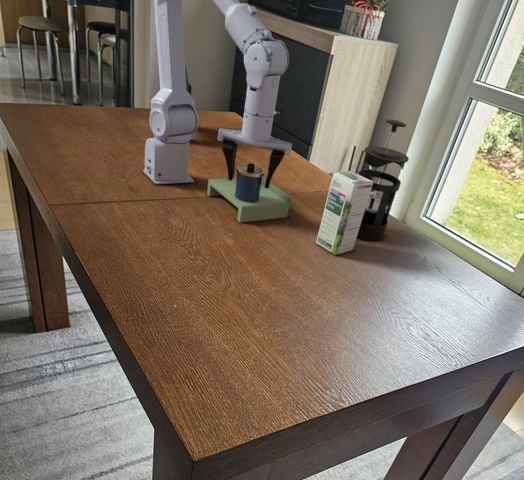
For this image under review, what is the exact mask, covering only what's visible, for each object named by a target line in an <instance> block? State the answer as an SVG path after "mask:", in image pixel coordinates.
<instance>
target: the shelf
mask: <svg viewBox="0 0 524 480" xmlns="http://www.w3.org/2000/svg"><path fill="white" fill-rule="evenodd" d="M266 179H267V178H266V177H264V176H263V177H262V183H261V189H260V196H259V200H258V201H257V202H244V201H240V200H238V199H237V198H235V188H236V180H237V177H234V178H233V179H232V181H230V180H228V177H220V178H219V177H218V178H208V181H207V191H206V194H207V195H208V196H209V197H216V196H217V197H218V196H223V197H224V198H225V199H226V200H227V201H229V202H230V203H231V204H232V205H234V206H235V207H236V208H237V210H238V211H237V217H236V221H237V222H239V223H247V222H249V223H250V222H256V221H267V220H277V219H285V218H288V214H289V210H290V209H289V208H290V204H291V199H292V196H290V195H289V194H288V193H286V192H285V191H284V190H282V189H281V188H279V187H278V186H276V185H275V184H274V183H272V181H270V185H269V188H268V189H267V188H265V183H266Z"/></svg>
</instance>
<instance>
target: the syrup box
mask: <svg viewBox="0 0 524 480" xmlns="http://www.w3.org/2000/svg"><path fill="white" fill-rule="evenodd" d="M373 183H374V180H372V179H371V180H369V179H366V178H364V177H362V176H360V175H358V173H356V172H355V171H353V170H342V171H341V170H340V171H336V172H334V173H333V174H332V178H331V180H330V184H329V189H328V193H327V197H326V201H325V206H324V209H323V213H322V216H321V217H322V218H321V222H320V226H319V229H318V233H317V237H316V240H315V244H316V245H318V246H320V247H321V248H323V249H325V250H327V252H330V253H331V254H332V255H334V256H337V255H341V254H344V253H347V252H351V251H353V250H354V247H355V245H356V241H357V239H358V238H357V235H358V231H359V228H360V225H361V221H362V218H363V215H364V211H365V208H366V205H367V201H368V198H369V197H370V194H371V191H372V189H371V188H372V185H373Z"/></svg>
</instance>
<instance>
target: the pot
mask: <svg viewBox="0 0 524 480" xmlns="http://www.w3.org/2000/svg"><path fill="white" fill-rule="evenodd" d="M235 168H236V169H235V171H236V178H237V180H236V188H235V198H237V199H238V200H240V201H244V202H257V201H258V200H259V196H260V189H261V183H262V177H264V176H265V172H266V171H265V169H264V168H262V167H260V166H258V165H255V164H254V163H253V162H249V163H242V164H238V165H237V166H236V167H235Z"/></svg>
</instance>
